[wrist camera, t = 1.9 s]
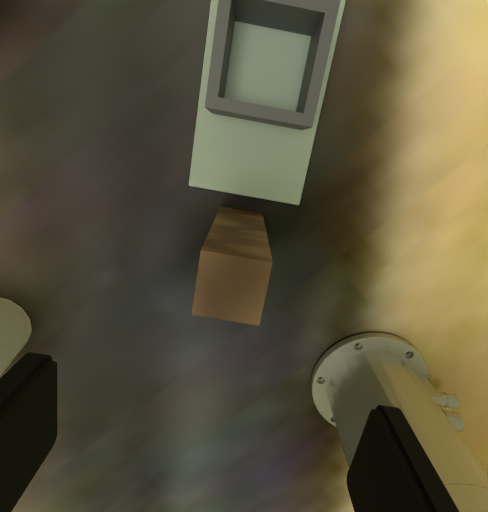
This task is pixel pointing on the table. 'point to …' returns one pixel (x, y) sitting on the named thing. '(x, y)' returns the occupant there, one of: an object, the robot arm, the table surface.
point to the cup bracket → (262, 95)
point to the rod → (234, 268)
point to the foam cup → (12, 331)
